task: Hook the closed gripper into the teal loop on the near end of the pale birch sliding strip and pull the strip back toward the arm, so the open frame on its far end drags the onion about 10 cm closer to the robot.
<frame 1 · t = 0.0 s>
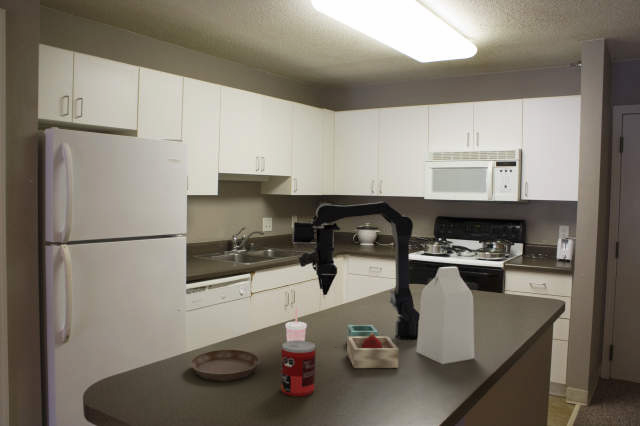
hand: (323, 291, 168), 15 cm above the counter, fingers open, 9 cm apart
plant saucer: (225, 372, 135), on the counter
milk: (444, 355, 153), on the counter
beverage cup: (295, 355, 149), on the counter
onion: (371, 362, 146), resting in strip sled
canned food: (297, 391, 123), on the counter
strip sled: (367, 344, 152), point 3 cm above the counter, slide at 0.0 cm
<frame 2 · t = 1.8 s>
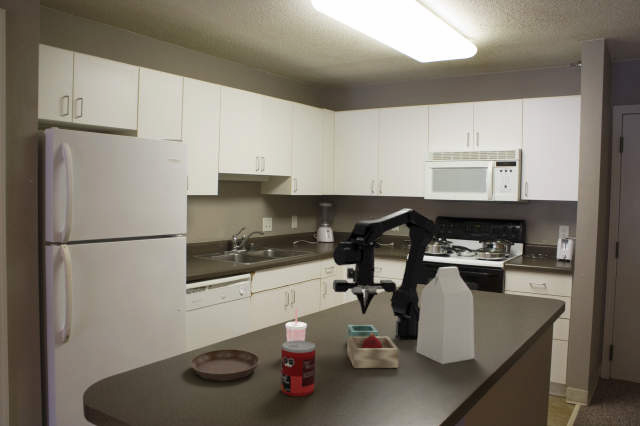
hand: (363, 313, 159), 10 cm above the counter, fingers closed
nothing on the counter moved.
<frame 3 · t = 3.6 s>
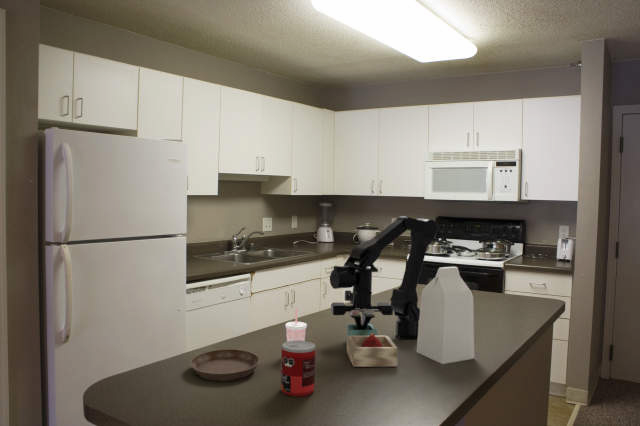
hand: (360, 336, 162), 2 cm above the counter, fingers closed
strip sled: (366, 343, 153), point 3 cm above the counter, slide at 1.0 cm, touching gripper
everything else where it was.
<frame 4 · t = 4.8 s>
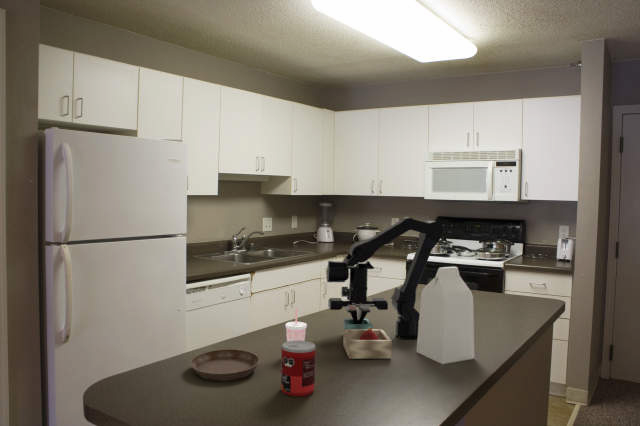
hand: (357, 330, 169), 2 cm above the counter, fingers closed, pressing on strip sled
onion: (368, 355, 151), resting in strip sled
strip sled: (362, 336, 160), point 3 cm above the counter, slide at 7.6 cm, touching gripper
everything else where it was.
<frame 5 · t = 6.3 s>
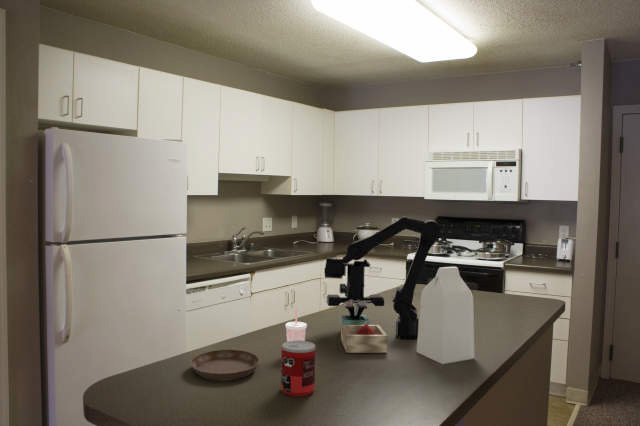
hand: (354, 325, 174), 2 cm above the counter, fingers closed, pressing on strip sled
onion: (365, 350, 156), resting in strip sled
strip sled: (359, 332, 165), point 3 cm above the counter, slide at 12.8 cm, touching gripper, onion
everything else where it was.
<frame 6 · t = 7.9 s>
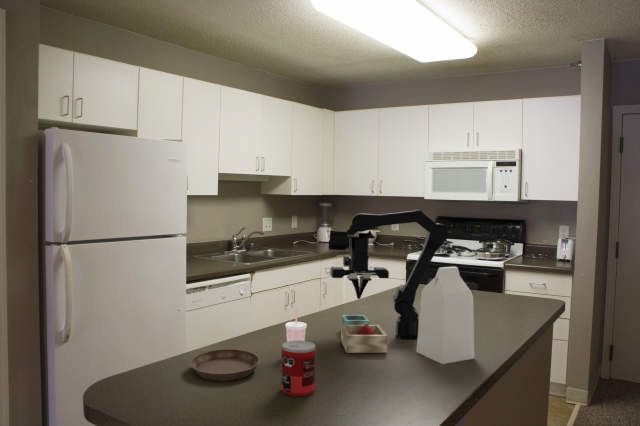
hand: (358, 298, 172), 12 cm above the counter, fingers closed
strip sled: (359, 332, 165), point 3 cm above the counter, slide at 12.8 cm, touching onion
everything else where it was.
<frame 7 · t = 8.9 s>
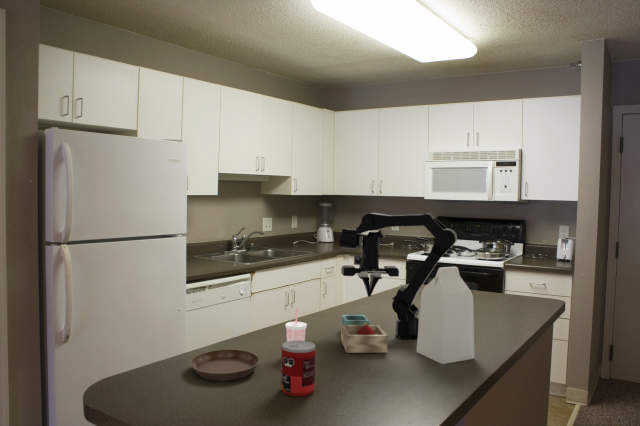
hand: (369, 296, 175), 12 cm above the counter, fingers closed
nothing on the counter moved.
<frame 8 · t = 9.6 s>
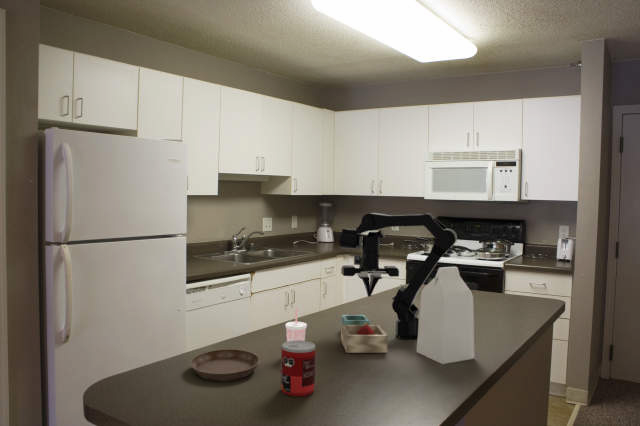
hand: (369, 296, 175), 12 cm above the counter, fingers closed
nothing on the counter moved.
at the end: onion inside the target area (0.8 cm from its centre), resting in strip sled; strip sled slide at 12.8 cm; the gripper is holding nothing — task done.
